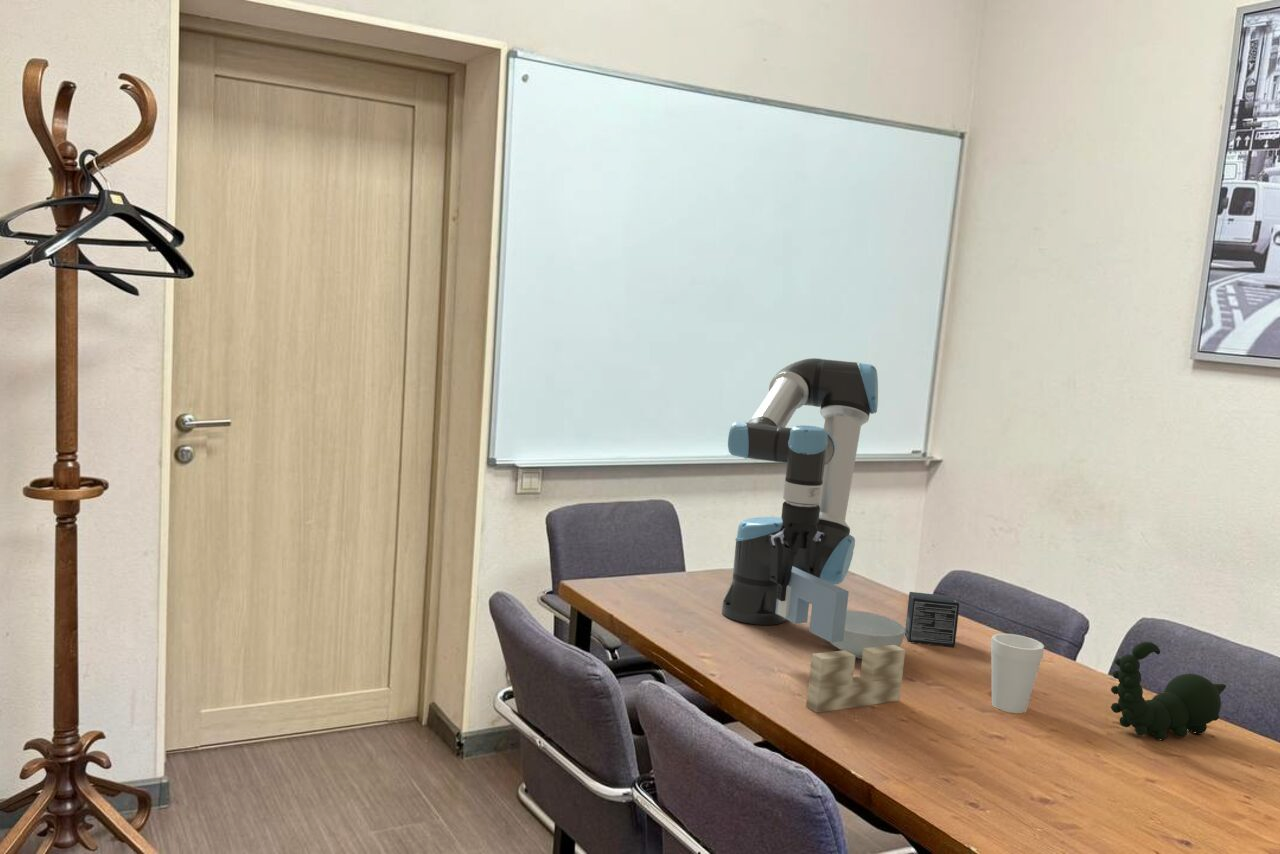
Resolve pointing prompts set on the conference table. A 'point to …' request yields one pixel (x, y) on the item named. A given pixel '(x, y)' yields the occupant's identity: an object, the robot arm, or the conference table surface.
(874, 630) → the cereal bowl
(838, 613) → the blue-grey arch block
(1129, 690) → the toy figurine
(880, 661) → the notched birch block
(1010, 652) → the foam cup
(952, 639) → the small box
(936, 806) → the conference table surface
